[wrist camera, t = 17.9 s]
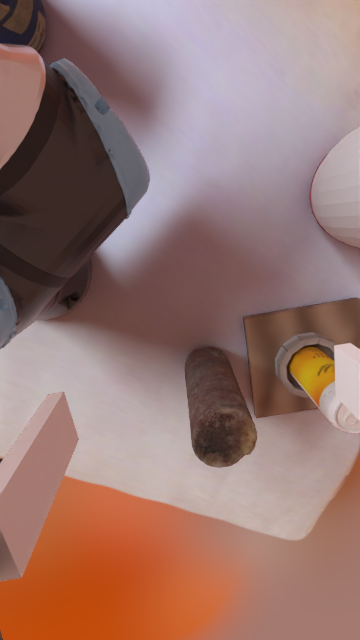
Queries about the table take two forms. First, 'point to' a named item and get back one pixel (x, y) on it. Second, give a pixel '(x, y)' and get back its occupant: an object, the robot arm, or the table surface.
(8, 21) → the canister
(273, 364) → the can holder
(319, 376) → the beer can
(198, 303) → the table surface
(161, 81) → the table surface
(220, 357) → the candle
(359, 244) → the citrus juicer
